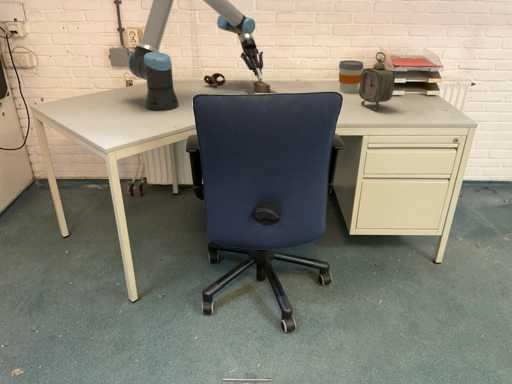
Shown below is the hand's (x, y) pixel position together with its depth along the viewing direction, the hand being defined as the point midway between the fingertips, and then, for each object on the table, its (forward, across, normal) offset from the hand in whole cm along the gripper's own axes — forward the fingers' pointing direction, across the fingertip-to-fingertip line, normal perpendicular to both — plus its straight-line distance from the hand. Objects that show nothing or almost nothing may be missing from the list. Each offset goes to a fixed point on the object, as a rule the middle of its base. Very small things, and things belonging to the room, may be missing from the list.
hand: (260, 80), depth 212 cm
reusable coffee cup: (+17, -45, +7) cm, 48 cm away
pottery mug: (-11, +18, -20) cm, 29 cm away
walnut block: (0, 0, -5) cm, 5 cm away
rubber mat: (+5, 0, -3) cm, 6 cm away
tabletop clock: (+38, -36, +29) cm, 61 cm away
